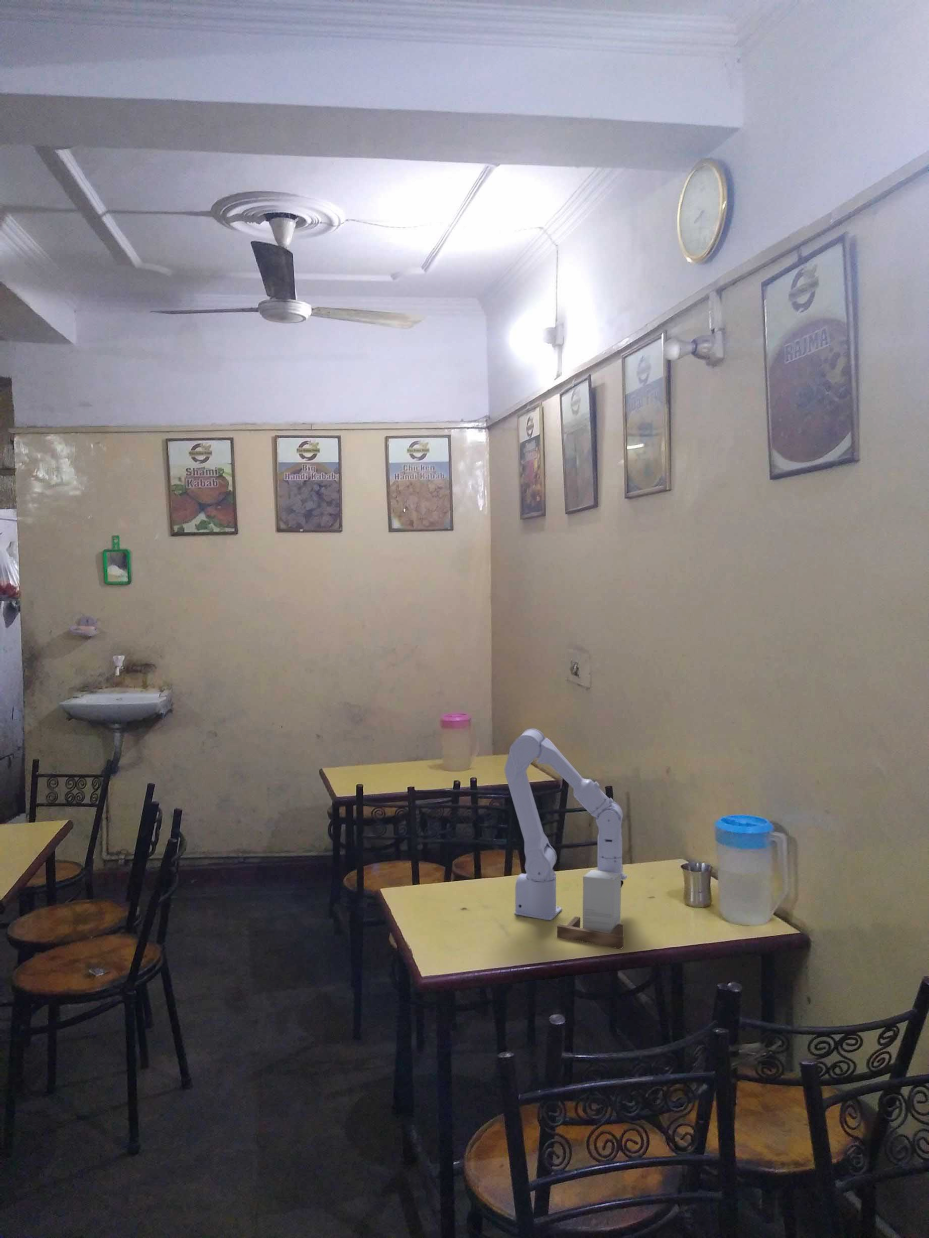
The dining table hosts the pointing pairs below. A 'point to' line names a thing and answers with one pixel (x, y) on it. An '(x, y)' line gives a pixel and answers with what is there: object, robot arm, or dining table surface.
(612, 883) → the supplement box
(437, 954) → the dining table surface
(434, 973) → the dining table surface
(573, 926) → the walnut clip
